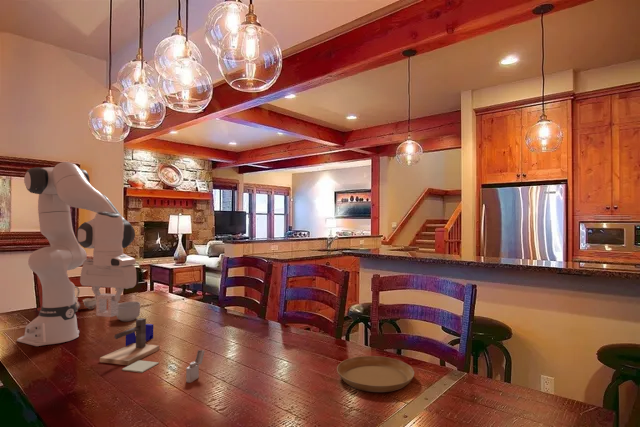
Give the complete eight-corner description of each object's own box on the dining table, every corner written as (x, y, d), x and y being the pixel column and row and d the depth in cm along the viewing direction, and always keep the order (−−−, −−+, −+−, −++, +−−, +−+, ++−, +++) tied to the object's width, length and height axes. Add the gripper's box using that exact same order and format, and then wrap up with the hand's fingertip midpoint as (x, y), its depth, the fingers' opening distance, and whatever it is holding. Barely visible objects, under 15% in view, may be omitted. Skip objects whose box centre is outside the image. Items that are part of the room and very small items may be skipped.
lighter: (190, 382, 114) (190, 356, 114) (185, 382, 114) (186, 356, 115) (204, 373, 121) (204, 349, 121) (200, 373, 121) (200, 348, 121)
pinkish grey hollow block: (96, 315, 126) (96, 295, 126) (103, 313, 129) (103, 293, 129) (110, 317, 124) (111, 296, 124) (117, 314, 127) (118, 294, 127)
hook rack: (99, 361, 130) (100, 327, 131) (133, 346, 146) (133, 316, 146) (128, 365, 127) (128, 330, 128) (159, 349, 143) (159, 318, 143)
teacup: (144, 319, 187) (144, 303, 187) (123, 324, 178) (123, 307, 178) (128, 315, 194) (128, 299, 195) (107, 319, 185) (107, 303, 185)
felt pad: (121, 370, 123) (121, 369, 123) (139, 361, 131) (139, 360, 131) (142, 372, 121) (142, 371, 121) (158, 363, 129) (158, 362, 129)
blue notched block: (144, 337, 158) (144, 323, 158) (153, 338, 157) (153, 324, 157) (122, 346, 146) (122, 331, 147) (131, 348, 145) (132, 332, 145)
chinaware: (68, 322, 186) (72, 289, 187) (36, 318, 187) (40, 285, 187) (103, 309, 214) (106, 280, 215) (75, 305, 215) (78, 277, 215)
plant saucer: (336, 364, 130) (336, 354, 130) (405, 365, 129) (405, 355, 129) (337, 396, 106) (337, 385, 106) (422, 398, 105) (422, 386, 105)
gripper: (75, 259, 126) (74, 300, 126) (126, 261, 121) (125, 304, 121) (91, 257, 132) (90, 296, 132) (139, 259, 127) (139, 300, 127)
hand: (107, 300), depth 126 cm, fingers closed on pinkish grey hollow block, 6 cm apart
